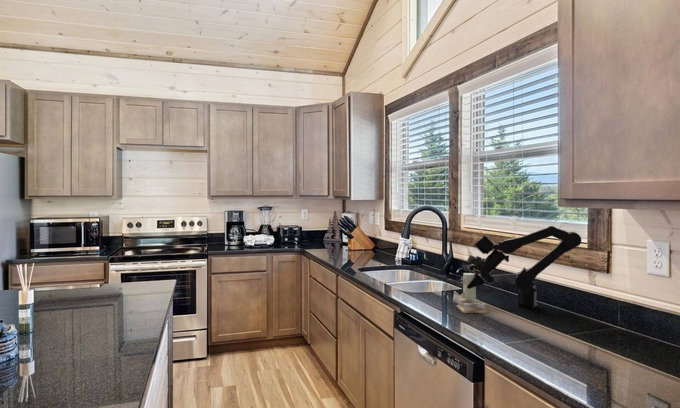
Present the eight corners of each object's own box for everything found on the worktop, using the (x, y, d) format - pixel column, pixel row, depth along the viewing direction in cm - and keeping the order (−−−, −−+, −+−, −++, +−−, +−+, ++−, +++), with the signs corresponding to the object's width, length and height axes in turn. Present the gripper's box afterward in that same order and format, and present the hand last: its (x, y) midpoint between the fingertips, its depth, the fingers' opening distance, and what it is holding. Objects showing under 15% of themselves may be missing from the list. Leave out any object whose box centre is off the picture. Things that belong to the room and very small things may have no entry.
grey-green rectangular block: (473, 301, 192) (473, 273, 192) (475, 303, 188) (476, 274, 188) (461, 301, 192) (461, 273, 191) (464, 303, 188) (464, 274, 188)
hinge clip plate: (480, 306, 182) (480, 299, 182) (487, 312, 173) (488, 304, 173) (456, 306, 182) (456, 299, 182) (462, 312, 173) (463, 304, 173)
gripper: (472, 246, 199) (447, 270, 199) (486, 251, 180) (459, 278, 180) (488, 263, 199) (464, 287, 199) (505, 270, 181) (478, 297, 181)
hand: (466, 287), depth 190 cm, fingers closed on grey-green rectangular block, 4 cm apart
